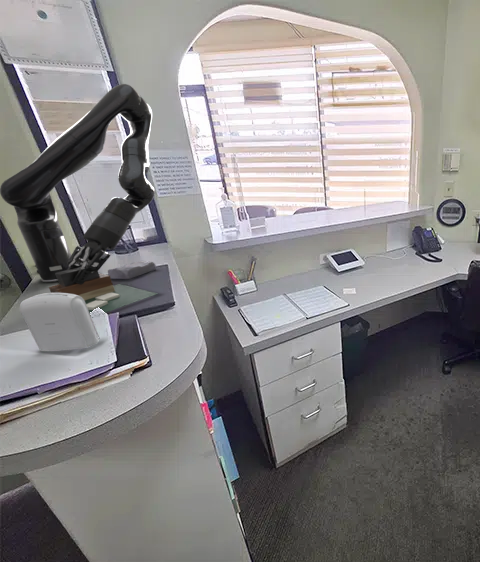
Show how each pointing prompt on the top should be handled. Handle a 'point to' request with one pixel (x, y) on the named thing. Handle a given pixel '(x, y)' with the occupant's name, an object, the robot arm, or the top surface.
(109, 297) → the chalk smudge
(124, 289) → the chalkboard
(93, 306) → the chalk smudge
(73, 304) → the photo printer
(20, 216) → the robot arm
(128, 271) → the stone block
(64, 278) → the eraser
